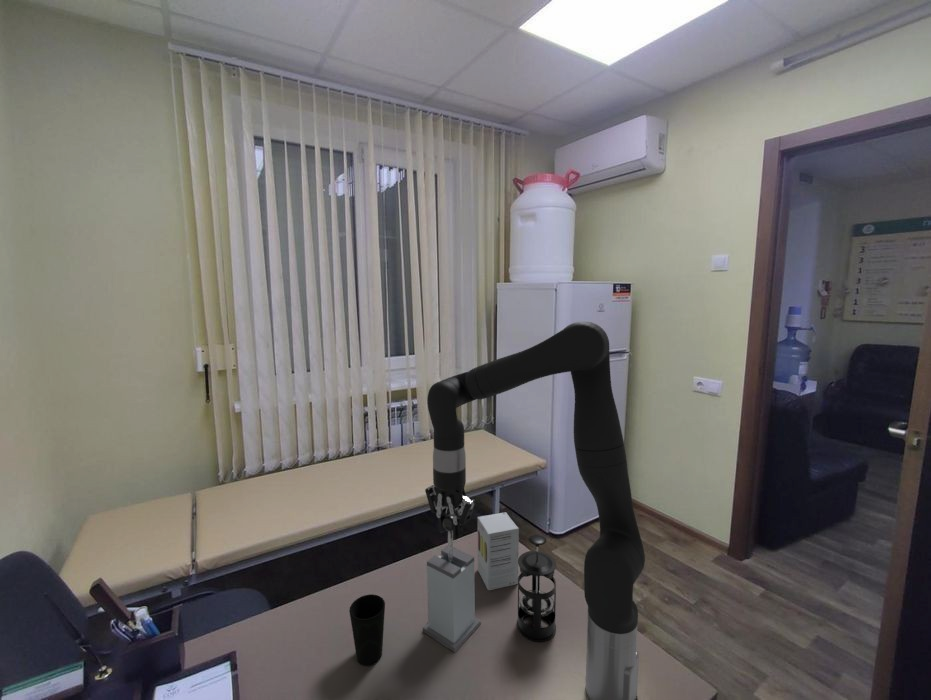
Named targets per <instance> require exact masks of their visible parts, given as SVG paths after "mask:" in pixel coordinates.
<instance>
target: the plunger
mask: <svg viewBox="0 0 931 700" xmlns="http://www.w3.org/2000/svg"><path fill="white" fill-rule="evenodd" d="M446 515H447V516H445V517H444V519H443V527H444V529H445V530H447V531H446V532H447V546H448V562H449V563H451V564H453V547H454V538H453V524H454V523H453V518H452V515H450V514H446Z"/></svg>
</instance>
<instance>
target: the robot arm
mask: <svg viewBox="0 0 931 700" xmlns="http://www.w3.org/2000/svg"><path fill="white" fill-rule="evenodd" d="M608 336H609V335H608V334H607V332H606V331H605V330H604V329H603V328H602V327H601V326H600V325H599V324H596V323H594V322H591V321H575V322H573V323H571V324H568V325H567V326H566V327H564V328H563V329H562V330H560V331H558V332H557V333H555V334H553V335H552V336H550V337H548V338H546V339H545V340H543V341H541V342H539V343H537V344H535V345H533V346H531V347H529V348H527V349H523V350H522V351H518V352H516V353H512V354H509V355H506V356H503V357H500V358H497V359H494V360H492V361H491V360H490V361H489V362H486V363H484V364H480V365H478V366H476V367H474V368H472V369H470V370H469V371H465V372H462V373H458V374H456V375H453V376H450V377H447V378H445V379H442V380H439V381H437V382H435V383H433V384H432V385H431V386H430V387H429V389H428V393H427V398H426V399H427V400H426V401H427V402H426V403H427V410H428V414H429V418H430V421H431V424H432V427H433V450H432V477H433V478H432V480H433V481H432V483H433V484H432V485H430V486H428V487H427V488H425V495H426V499H427V502H428V506H429V509H430V513H432V514H435V515H436V517H437V523H438V524H437V528H438V530H439V531H438V532H439V533H441V534H444V533H446V532H448V531H447V530H445V529H444V527H443V519H444V517H445V516H447V515H448V514H447V513H448V511H449V515H452V518H453V523H454V524H453V540H458V539H459V538H461V536H462V535H463V527H464V525H465V524H466V523H468V522H469V521H470V520H471V518H472V515H473V512H474V509H475V507H476V505H477V501H476V499H473V498H472V499H470V498H469V497H468V496H467V494H466V493H467V492H466V490H465V487H466V483H467V479H466V478H467V473H466V472H467V471H466V469H467V467H466V464H467V463H466V461H467V460H466V456H467V455H466V450H465V428H464V427H465V426H464V423H463V422H462V420H460V419H459V418H458V416H457V408H459V407H461V406H463V405H465V404H468V403H471V402H474V401H476V400H484V399H489V398H491V397H494V396H497V395H499V394H503V393H505V392H508V391H510V390H513V389H515V388H518V387H520V386H522V385H525V384H527V383H530V382H533V381H535V380H537V379H542V378H544V377H549V376H553V375H558V374H564V373H570V375H571V380H572V384H573V391H574V408H573V409H574V411H573V444H574V449H575V458H576V462H577V467H578V472H579V475H580V476H581V479H582V480H583V483H584V484H585V486H586V487H587V489H588V490H589V493H590V494H591V496H592V498H593V499H594V501H595V504H596V507H597V513H598V523H599V537H598V538H597V539H596V541H595V542H594V543H593V544H591V546H590V547H589V549H587V551H586V553H585V557H584V564H583V581H584V582H583V583H584V584H583V586H584V587H583V588H584V589H583V590H584V591H583V592H584V600H585V602H586V605H587V625H586V626H587V627H586V657H585V658H586V662H585V663H586V664H585V692H586V694H587V698H588V699H589V700H636V699H637V697H636V696H638V686H639V685H638V683H639V680H638V679H639V665H640V664H639V663H640V660H639V659H640V653H639V651H637V641H638V640H637V637H638V623H639V622H638V621H639V609H638V606H637V604H636V602H635V600H634V597H633V594H634V585H635V583H636V581H637V580H638V579H639V577H640V575H641V574H642V573H643V570H644V567H645V562H646V555H645V549H644V545H643V541H642V537H641V534H640V533H641V532H640V530H639V527H638V522H637V520H636V515H635V511H634V507H633V505H634V504H633V500H632V497H633V496H632V491H631V483H630V477H629V471H628V470H629V469H628V461H627V455H626V449H625V442H624V437H623V431H622V428H621V427H622V426H621V423H620V417H619V413H618V409H617V406H616V405H617V404H616V401H615V398H614V393H613V387H612V379H611V377H612V376H611V364H610V363H611V362H610V361H611V360H610V359H611V358H610V340H609V337H608ZM448 509H449V510H448ZM635 698H636V699H635Z"/></svg>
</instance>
